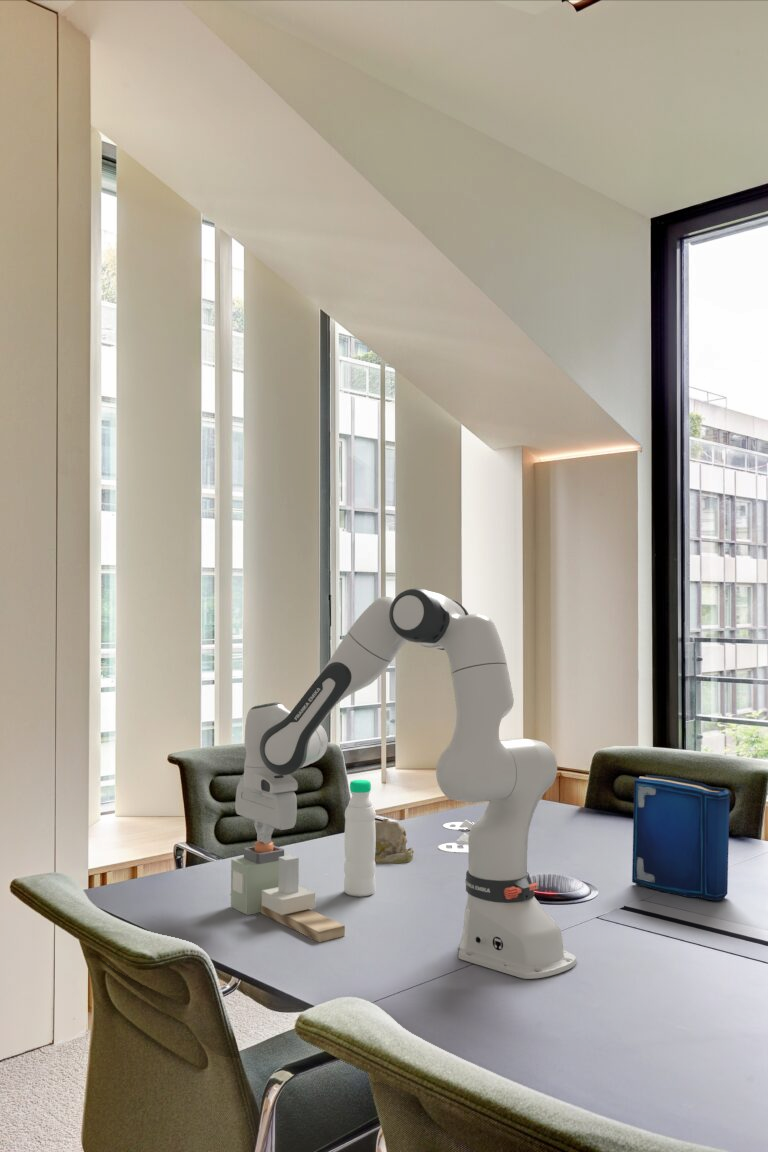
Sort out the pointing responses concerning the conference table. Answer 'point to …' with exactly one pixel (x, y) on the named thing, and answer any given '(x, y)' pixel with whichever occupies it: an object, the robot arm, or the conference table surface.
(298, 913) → the block
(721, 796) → the book
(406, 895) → the conference table surface
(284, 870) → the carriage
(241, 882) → the end cabinet
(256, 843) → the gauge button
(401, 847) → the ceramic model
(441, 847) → the cable organizer
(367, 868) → the water bottle
